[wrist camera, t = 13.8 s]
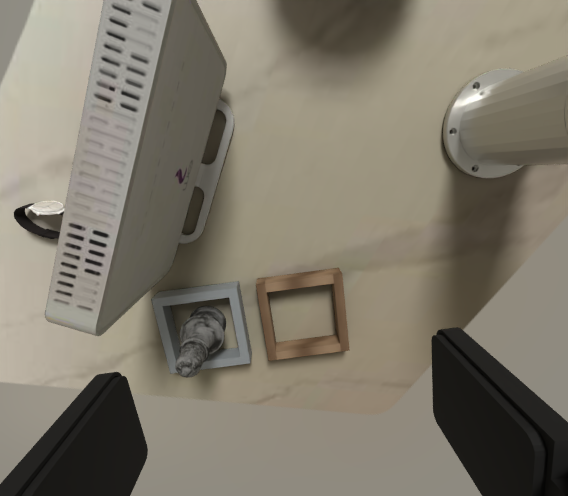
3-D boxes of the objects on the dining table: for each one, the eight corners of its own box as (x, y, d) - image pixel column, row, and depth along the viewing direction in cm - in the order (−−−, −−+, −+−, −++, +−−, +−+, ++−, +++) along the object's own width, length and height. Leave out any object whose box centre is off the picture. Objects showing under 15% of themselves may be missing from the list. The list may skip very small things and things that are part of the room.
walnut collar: (338, 267, 44) (342, 273, 41) (345, 340, 46) (349, 350, 44) (257, 278, 44) (256, 285, 41) (269, 350, 47) (268, 360, 44)
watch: (88, 206, 41) (70, 210, 38) (86, 241, 42) (69, 247, 39) (27, 195, 41) (3, 198, 37) (27, 230, 42) (4, 236, 38)
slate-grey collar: (238, 281, 44) (236, 287, 41) (251, 353, 47) (250, 363, 44) (158, 292, 44) (151, 299, 42) (176, 362, 47) (170, 373, 44)
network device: (191, 270, 43) (121, 353, 24) (128, 250, 42) (3, 318, 23) (248, 78, 38) (217, -18, 18) (177, 50, 37) (65, -82, 17)
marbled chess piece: (186, 303, 44) (154, 350, 33) (228, 304, 45) (210, 352, 33) (187, 340, 46) (157, 398, 34) (228, 341, 46) (211, 400, 34)
